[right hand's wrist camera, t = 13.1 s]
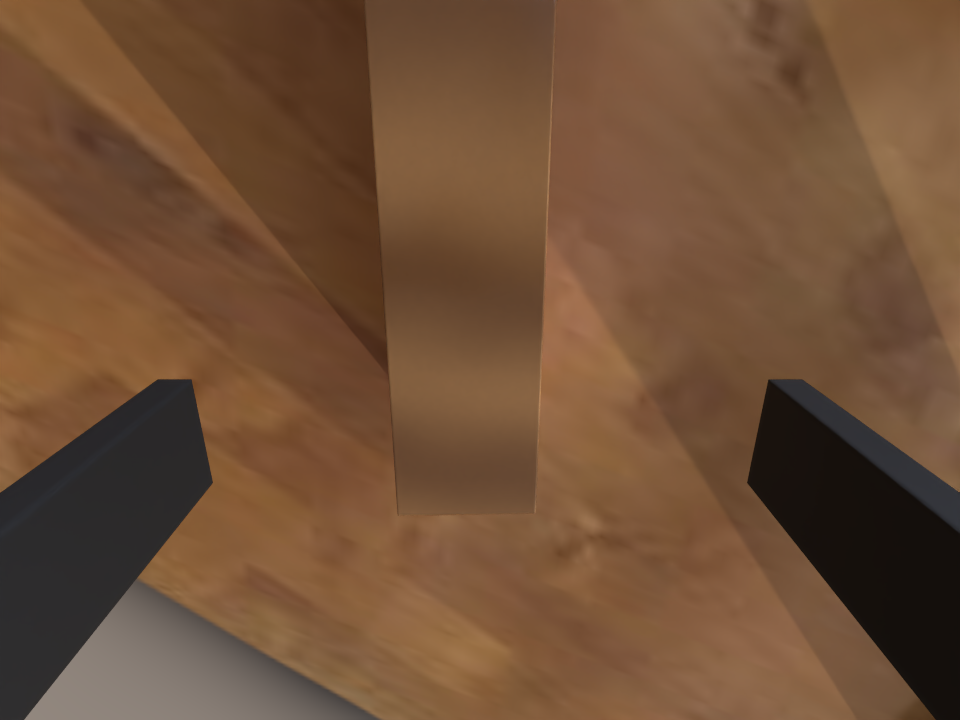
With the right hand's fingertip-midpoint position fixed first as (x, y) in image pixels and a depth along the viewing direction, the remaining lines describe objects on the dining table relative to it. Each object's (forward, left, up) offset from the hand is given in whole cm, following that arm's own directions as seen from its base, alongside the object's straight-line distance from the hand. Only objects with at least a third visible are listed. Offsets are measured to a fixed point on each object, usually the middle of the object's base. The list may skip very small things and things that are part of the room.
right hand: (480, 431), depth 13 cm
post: (-11, -21, -14) cm, 27 cm away
